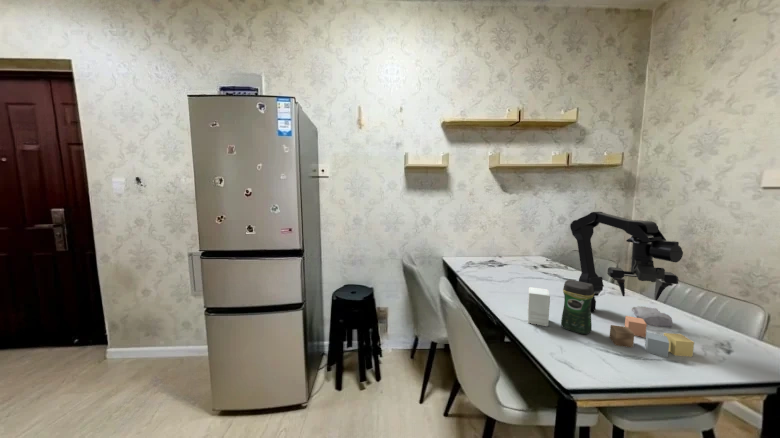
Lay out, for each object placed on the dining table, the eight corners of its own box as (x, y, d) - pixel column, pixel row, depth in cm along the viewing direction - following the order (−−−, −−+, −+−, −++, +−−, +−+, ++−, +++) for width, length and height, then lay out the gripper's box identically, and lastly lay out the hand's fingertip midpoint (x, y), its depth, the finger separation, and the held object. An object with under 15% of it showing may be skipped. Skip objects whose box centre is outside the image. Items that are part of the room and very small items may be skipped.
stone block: (645, 330, 112) (675, 327, 110) (644, 318, 112) (674, 315, 110) (627, 317, 124) (654, 314, 122) (625, 306, 124) (652, 303, 122)
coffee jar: (593, 329, 109) (597, 282, 107) (587, 337, 103) (592, 287, 101) (564, 321, 116) (567, 276, 114) (558, 327, 110) (561, 281, 108)
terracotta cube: (627, 334, 106) (628, 321, 105) (624, 328, 110) (625, 315, 109) (645, 337, 103) (646, 324, 103) (641, 331, 108) (642, 318, 107)
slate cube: (646, 352, 94) (648, 338, 94) (644, 345, 98) (646, 331, 98) (667, 357, 91) (669, 343, 91) (664, 350, 95) (666, 336, 95)
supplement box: (547, 319, 118) (549, 289, 116) (548, 327, 111) (550, 295, 109) (527, 315, 121) (528, 286, 119) (527, 323, 114) (528, 292, 112)
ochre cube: (674, 355, 92) (676, 340, 92) (662, 346, 97) (664, 333, 97) (692, 356, 92) (694, 342, 91) (679, 348, 97) (680, 334, 96)
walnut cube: (615, 345, 98) (616, 331, 98) (609, 338, 103) (610, 324, 102) (632, 348, 97) (634, 334, 96) (626, 340, 102) (627, 327, 101)
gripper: (615, 258, 101) (612, 301, 102) (687, 263, 92) (683, 310, 94) (608, 252, 111) (606, 291, 112) (673, 256, 102) (669, 299, 104)
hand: (639, 298), depth 105 cm, fingers open, 9 cm apart
